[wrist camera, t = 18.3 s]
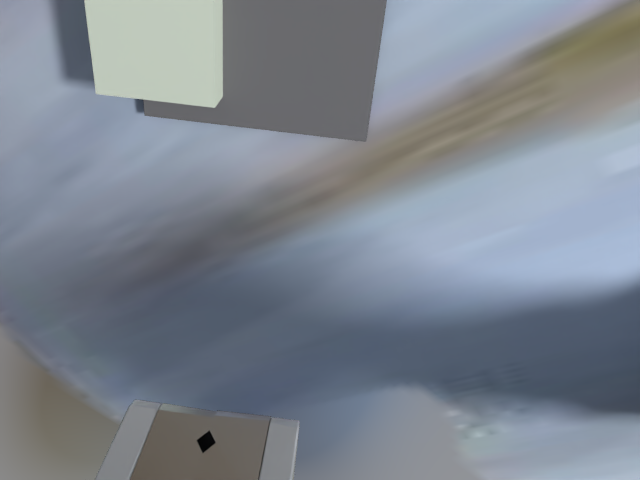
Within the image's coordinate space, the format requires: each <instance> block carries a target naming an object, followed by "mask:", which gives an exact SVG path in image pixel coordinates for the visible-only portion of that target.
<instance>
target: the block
mask: <svg viewBox="0 0 640 480" xmlns="http://www.w3.org/2000/svg"><path fill="white" fill-rule="evenodd" d="M84 2H85V10H86V18H87V26H88V34H89V42H90V50H91V58H92V66H93V74H94V82H95V90H96V94H101V95H110V96H118V97H127V98H135V99H144V100H152V101H161V102H169V103H178V104H186V105H195V106H203V107H212V108H215V107H216V106H217V104H218V103H219V101H220V100H221V99H222V97H223V0H84Z"/></svg>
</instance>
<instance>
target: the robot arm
mask: <svg viewBox="0 0 640 480" xmlns="http://www.w3.org/2000/svg"><path fill="white" fill-rule="evenodd" d="M298 433H299V420H291V419H283V418H274V417H272V418H271V416H263V415H254V414H245V413H236V412H227V411H218V410H217V411H210V410H204V409H197V408H191V407H184V406H178V405H171V404H165V403H157V402H150V401H143V400H134V401H133V403H132V404H131V405H130V406H129V407H128V409H127V412H126V414H125V416H124V418H123V420H122V422H121V424H120V426H119V429H118V431H117V433H116V435H115V437H114V439H113V441H112V444H111V446H110V448H109V450H108V452H107V454H106V456H105V458H104V461H103V463H102V465H101V467H100V469H99V471H98V474H97V476H96V478H95V480H293V479H294V470H295V460H296V452H297V443H298Z"/></svg>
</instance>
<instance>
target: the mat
mask: <svg viewBox="0 0 640 480" xmlns="http://www.w3.org/2000/svg"><path fill="white" fill-rule="evenodd" d="M386 1H387V0H223V97H222V99H221V100H220V101H219V103H218V104H217V106H216V107H215V108H212V107H203V106H195V105H186V104H178V103H169V102H161V101H152V100H144V99H143V101H144V113H145V116H152V117H161V118H169V119H178V120H186V121H195V122H203V123H211V124H220V125H228V126H237V127H245V128H254V129H262V130H271V131H279V132H288V133H296V134H305V135H313V136H321V137H330V138H338V139H347V140H355V141H364V142H366V139H367V132H368V125H369V118H370V111H371V104H372V98H373V91H374V84H375V77H376V70H377V63H378V56H379V50H380V43H381V36H382V29H383V22H384V15H385V8H386Z"/></svg>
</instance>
